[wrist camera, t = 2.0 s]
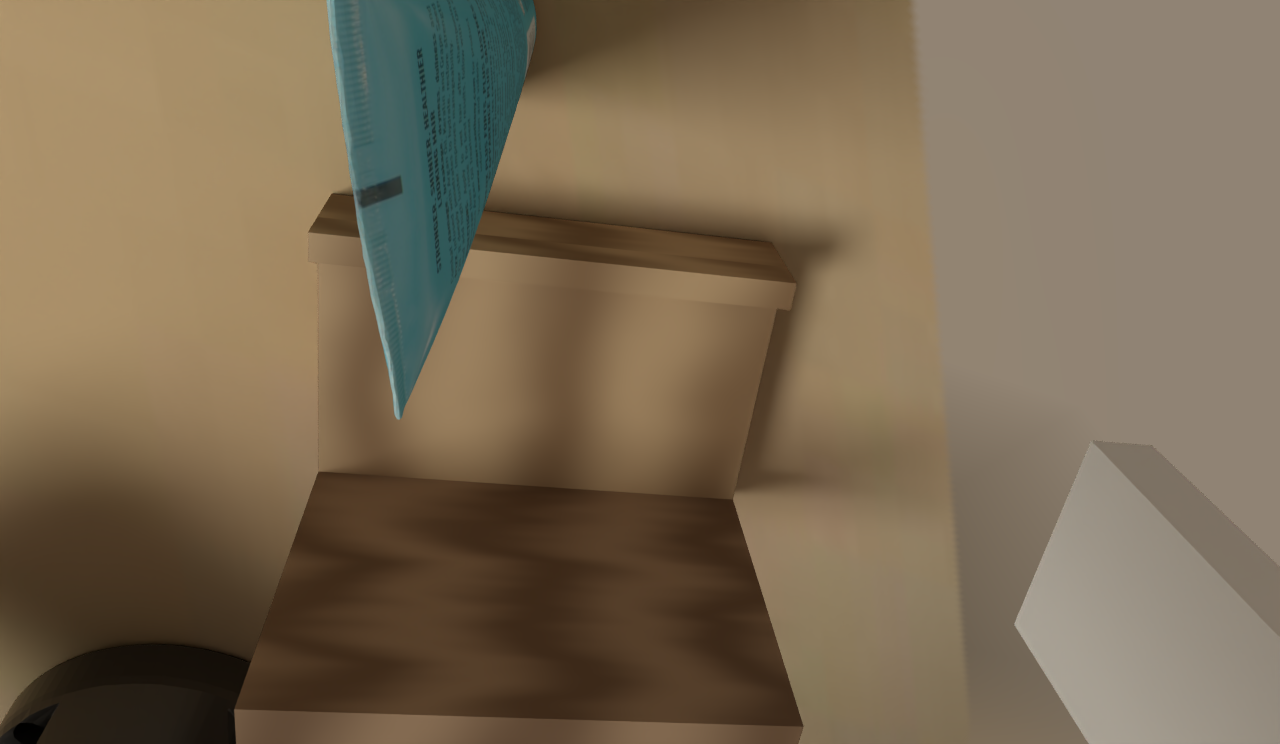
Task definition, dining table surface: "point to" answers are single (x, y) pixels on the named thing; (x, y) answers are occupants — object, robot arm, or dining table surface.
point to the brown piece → (533, 503)
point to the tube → (424, 148)
